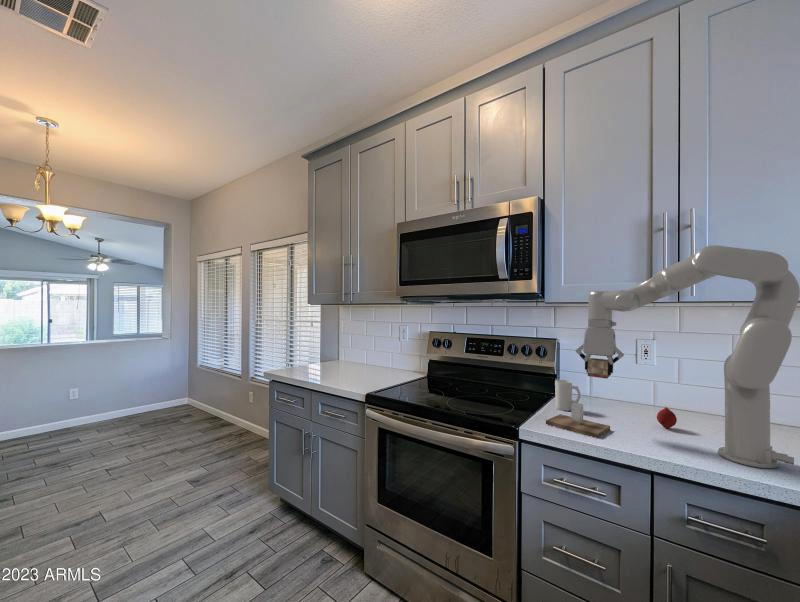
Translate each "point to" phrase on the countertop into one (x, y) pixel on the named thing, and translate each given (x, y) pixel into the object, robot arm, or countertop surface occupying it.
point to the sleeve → (598, 368)
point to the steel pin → (577, 413)
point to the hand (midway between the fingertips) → (598, 373)
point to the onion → (666, 418)
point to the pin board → (578, 426)
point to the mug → (565, 394)
